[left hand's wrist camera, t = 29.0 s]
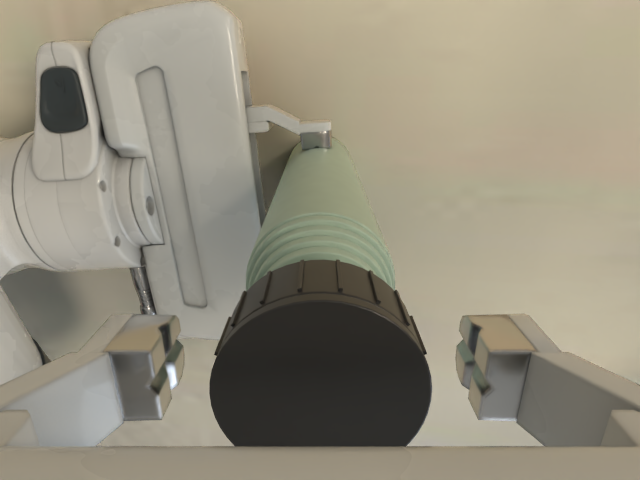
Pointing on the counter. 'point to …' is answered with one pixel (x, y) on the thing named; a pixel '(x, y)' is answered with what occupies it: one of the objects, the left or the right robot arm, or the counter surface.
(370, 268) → the bottle
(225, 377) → the cap
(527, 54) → the counter surface
